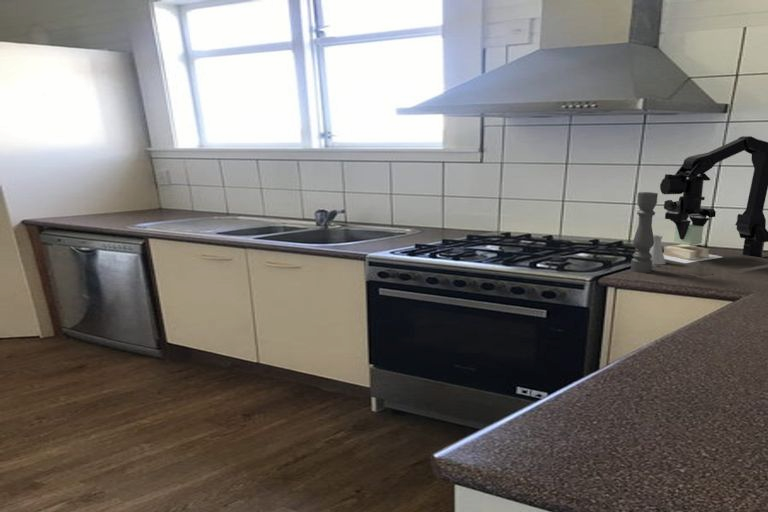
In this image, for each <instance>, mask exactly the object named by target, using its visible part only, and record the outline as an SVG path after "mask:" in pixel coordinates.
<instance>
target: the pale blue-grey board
mask: <svg viewBox="0 0 768 512" xmlns="http://www.w3.org/2000/svg"><path fill="white" fill-rule="evenodd" d="M663 256H664V259H665V260H667V261H672V262H677V263H680V264H689V263H695V262H701V261H707V260H714V259H719V258H720V259H721V258H722V256H720V255H714V254H710V253H709V257H708V258H702V259H696V260H685V259H680V258H675V257H671V256H666V255H664V252H663Z"/></svg>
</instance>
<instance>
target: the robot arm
mask: <svg viewBox="0 0 768 512" xmlns="http://www.w3.org/2000/svg"><path fill="white" fill-rule="evenodd" d="M743 151H744V152H746V153H748V154H750V155H751V163H752V166H753V168H754V169H753V174H752V178H751V184H750V189H749V195H748V199H747V204H746V208H745V210H744V211H743V213H738V214H737V217H736V222H735V224H734V225H735V226H736V230H737V232H738V235H739V238H741V239H743V240H744V242H743V248H742V254H741V255H743V256H748V257H756V258H761V259H763V258H767V257H768V255H764V249H765V248H764V247H765V243H768V229H767V228H766V226H767V225H766V224H767V223H766V222H767V221H766V217H765V213H764V207H765V203H766V198H767V193H768V141H765V140H761V139H758V138H756V137H753V136H749V135H748V136H744V135H743V136H739V137H737V139H735V140H734V139H733V141H730V142H728V143H725V144H724V145H721V146H720V147H717V148H715V149H713V150H711V151H708V152H704V153H700V154H695V155H691V156H688V157H686V158H685V159H684V160H683V164H682V165H681V166H680V167H679V169H678V170H677V171H676V172H675V174H667V173H665V175H664V178H662V180H661V183H660V185H659V189H660V192H661V193H662V195H680V196H679V198H678V200H676V201H673V200H672V199H667V200H665V201H664V203H663V209H664V210H665V211H666V212H665V214H664V219H665V220H670V221H671V222H672V223H674V224H675V227H676V226H677V229H678V233H679V237H680V239H682V240H683V239H684V237H685V235H686V232H687V230H688V227H689V224H690V225H697V226H703V227H704V226H705V225H706V223H707V222H708V221H710V219H711V218H715V217H716V210H715V209H714V208H709V207H702V201H705V200H706V199H705V198H706V196H703V191H704V189H703V188H704V181H711V178H710V177H709V176H708V175H707V172H709V171H710V170H711V169H712V168H713V167H714V166H715V165H716V164H718V163H719V162H722V161H724V160H727V159H728V158H730V157H733V156H736V155H737V154H739V153H742V152H743ZM681 194H682V196H681ZM688 218H689V220H688ZM691 222H692V224H691Z"/></svg>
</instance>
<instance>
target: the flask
mask: <svg viewBox="0 0 768 512" xmlns="http://www.w3.org/2000/svg"><path fill="white" fill-rule="evenodd" d="M653 238H654V245H653V246H652V248H651V249H650V251H649V252H650V254H651V255H652V258H651V260H652V267H654V268H655V267H657V268H660V267H663V265H666V264H667V263H666V259H664V256H663V253H664V251H663V249H662V239H663V235H658V234H657V235H656V234H653Z"/></svg>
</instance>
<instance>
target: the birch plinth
mask: <svg viewBox="0 0 768 512" xmlns="http://www.w3.org/2000/svg"><path fill="white" fill-rule="evenodd" d="M710 250H711V249H710V248H707V247H701V246H696V245H686V244H681V243H680V244H674V245H667V246H666V245H665V246H664V247H663V253H664V255H666V256H671V257H675V258H680V259H685V260H696V259H702V258H708V257H709V254H710Z"/></svg>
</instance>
